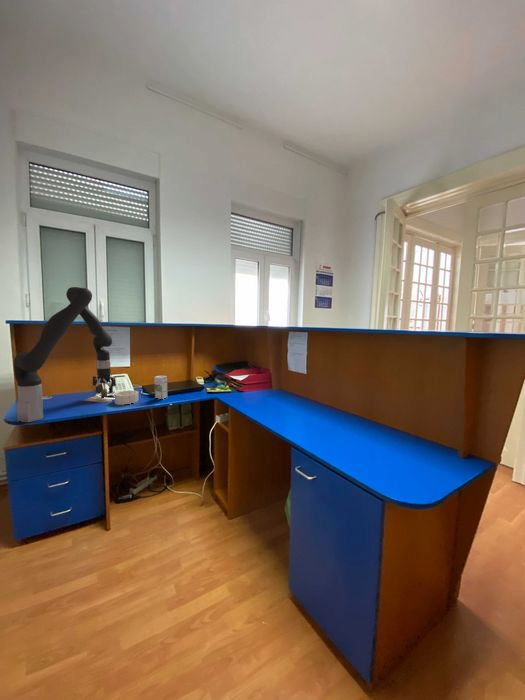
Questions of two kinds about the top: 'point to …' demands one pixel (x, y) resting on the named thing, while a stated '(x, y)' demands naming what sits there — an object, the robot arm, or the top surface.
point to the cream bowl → (126, 397)
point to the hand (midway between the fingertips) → (104, 392)
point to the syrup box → (160, 387)
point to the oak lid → (97, 399)
